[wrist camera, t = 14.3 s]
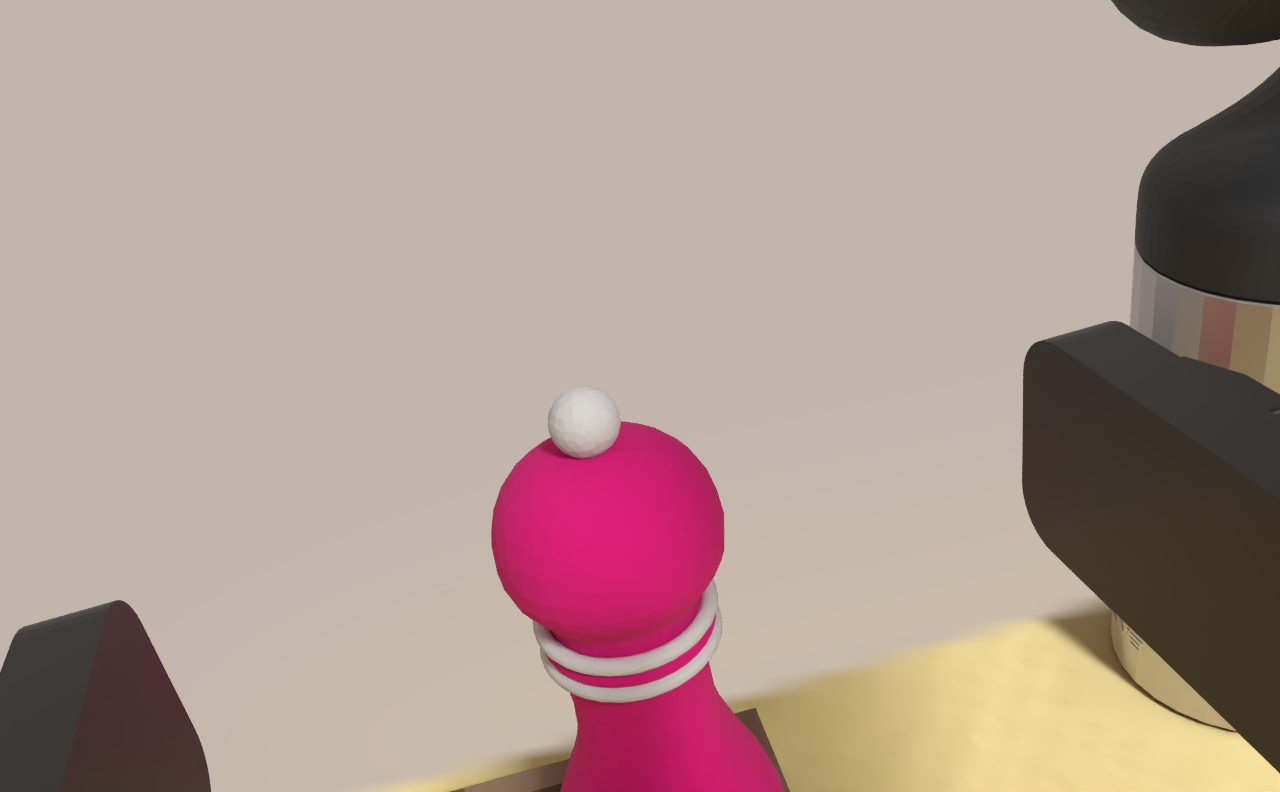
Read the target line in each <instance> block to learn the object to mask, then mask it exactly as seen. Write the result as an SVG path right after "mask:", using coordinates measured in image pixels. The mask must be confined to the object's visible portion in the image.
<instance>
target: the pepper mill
mask: <svg viewBox="0 0 1280 792" xmlns="http://www.w3.org/2000/svg"><path fill="white" fill-rule="evenodd" d="M548 429H549V433H550V435H551V438H549V439H547V440H545V441H543V442H542V443H541V444H539V445H538V446H536V447H535V448H534V449H532V450H531V451H530V452H528V453H527V454H526V455H525V456H524V457H523V458H522V459H521V460H520V461H519V462H518V463H517V464H516V465H515V466H514V468H513V470H512V471H511V473H510V474H509V476H508V477H507V479H506V480H505V482H504V484H503V485H502V487H501V489H500V492H499V495H498V498H497V501H496V504H495V507H494V511H493V520H492V531H491V532H492V534H491V535H492V550H493V554H494V559H495V563H496V568H497V573H498V575H499V577H500V580H501V582H502V585H503V587H504V590H505V591H506V592H507V594H508V595H509V596H510V598H511V599H512V600H513V601H514V603H515V604H516V605H517V607H518V608H519V609H520V610H521V612H522V613H524V614H525V615H527V616H528V617H529V618H531V619H532V620H533V629H534V633H535V636H536V639H537V642H538V644H539V645H540V650H541V659H542V661H543V664H544V666H545V669H546V671H547V672H548V674H549V675H550V677H551V678H552V679H553V680H554V681H555V682H556V683H557V684H558V685H560V686H561V687H562V688H564V689H565V690H566V691H568V692H570V694H571V696H572V699H573V702H574V706H575V711H576V717H577V722H578V730H577V737H576V741H575V745H574V748H573V751H572V754H571V758H570V761H569V764H568V767H567V770H566V773H565V777H564V780H563V783H562V787H561V790H560V792H784V789H783V786H782V783H781V780H780V777H779V774H778V773H777V771H776V769H775V767H774V766H773V764H772V762H771V760H770V759H769V757H768V755H767V754H766V752H765V750H764V749H763V747H762V745H761V743H760V742H759V741H758V740H757V739H756V737H755V736H754V735H753V734H752V732H751V731H750V730H749V729H748V728H747V727H746V726H745V725H744V724H743V723H742V722H741V721H740V720H739V719H738V718H737V716H736V715H735V714H734V713H733V712H732V711H731V709H730V708H729V707H728V706H727V704H726V703H725V702H724V700H723V699H722V698H721V696H720V695H719V694H718V692H717V690H716V688H715V686H714V682H713V678H712V674H711V670H710V666H709V660H710V659H711V657H712V655H713V654H714V652H715V651H716V649H717V646H718V644H719V641H720V637H721V633H722V619H721V613H720V610H719V607H718V605H717V603H718V595H717V589H716V585H715V583H714V580H713V578H714V576H715V573H716V571H717V568H718V566H719V564H720V562H721V559H722V555H723V552H724V512H723V509H722V506H721V502H720V499H719V496H718V493H717V489H716V487H715V485H714V483H713V481H712V479H711V477H710V475H709V473H708V471H707V469H706V468H705V467H704V465H703V464H702V463H701V462H700V461H699V459H698V458H697V457H696V456H695V455H694V454H693V453H692V452H691V450H690V449H689V448H688V447H687V446H685V445H684V444H683V443H681V442H680V441H679V440H677V439H676V438H674V437H672V436H670V435H668V434H666V433H664V432H662V431H660V430H658V429H656V428H653V427H650V426H646V425H642V424H637V423H630V422H621V420H620V414H619V410H618V408H617V406H616V404H615V402H614V401H613V400H612V398H611V397H609V395H608V394H607V393H605V392H603V391H602V390H600V389H598V388H594V387H590V386H579V387H574V388H571V389H569V390H567V391H565V392H564V393H562V394H561V395H560V396H559V397H558V398H557V399H556V400H555V402H554V403H553V405H552V407H551V409H550V411H549V415H548Z"/></svg>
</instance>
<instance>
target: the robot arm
mask: <svg viewBox="0 0 1280 792" xmlns="http://www.w3.org/2000/svg"><path fill="white" fill-rule="evenodd" d="M1111 1H1112V2H1113V3H1114V4H1115V6H1116V7H1117V9H1118V10H1119V11H1120V12H1121V13H1122V14H1123V15H1125V16H1126V17H1127V18H1128V19H1129V20H1131V21H1132V22H1133V23H1134V24H1135V25H1137V26H1138V27H1139V28H1141V29H1143V30H1145V31H1147V32H1149V33H1151V34H1153V35H1155V36H1158V37H1159V38H1162V39H1164V40H1169V41H1174V42H1179V43H1183V44H1189V45H1196V46H1230V45H1231V46H1232V45H1248V44H1256V43H1263V42H1269V41H1273V40H1279V39H1280V0H1111ZM1022 485H1023V494H1024V499H1025V504H1026V507H1027V510H1028V513H1029V516H1030V519H1031V521H1032V523H1033V525H1034V527H1035V529H1036V531H1037V533H1038V534H1039V536H1040V537H1041V539H1042V540H1043V542H1044V543H1045V545H1046V546H1047V547H1048V548H1049V549H1050V550H1051V551H1052V552H1053V553H1054V554H1055V555H1056V556H1057V557H1058V558H1059V559H1060V560H1061V561H1062V562H1063V563H1064V564H1065V565H1066V566H1067V567H1068V568H1069V569H1070V570H1072V572H1073V573H1074V574H1075V575H1076V576H1077V577H1079V579H1080V580H1082V581H1083V582H1084V583H1085V584H1086V585H1087V586H1088V587H1089V588H1090V589H1091V590H1092V591H1093V592H1094V593H1095V594H1096V595H1097V596H1098V597H1099V598H1100V599H1101V600H1102V601H1103V602H1104V603H1105V604H1106V605H1107V606H1108V607H1109V608H1110V609H1111V610H1112V620H1111V636H1112V642H1113V648H1114V650H1115V652H1116V654H1117V657H1118V659H1119V661H1120V663H1121V665H1122V666H1123V667H1124V669H1125V670H1126V671H1127V672H1128V673H1129V675H1130V676H1131V677H1132V678H1133V680H1134V681H1135V682H1136V683H1137V684H1139V685H1140V686H1141V687H1142V688H1143V689H1145V690H1146V691H1147V692H1148V693H1149V694H1151V695H1152V696H1153V697H1154V698H1156V699H1157V700H1159V701H1161V702H1163V703H1164V704H1166V705H1168V706H1169V707H1171V708H1173V709H1174V710H1176V711H1178V712H1180V713H1182V714H1185V715H1187V716H1190V717H1192V718H1194V719H1197V720H1199V721H1202V722H1204V723H1207V724H1211V725H1215V726H1218V727H1222V728H1226V729H1230V730H1233V731H1237V732H1238V733H1239V734H1240V735H1241V736H1242V737H1243V738H1244V739H1245V740H1246V741H1247V742H1248V743H1249V744H1250V745H1251V746H1252V747H1253V748H1254V749H1255V750H1256V751H1257V752H1258V753H1260V754H1261V755H1262V756H1263V757H1264V758H1265V759H1266V760H1267V761H1268V762H1269V763H1270V764H1271V765H1272V766H1273V767H1274V768H1275V769H1276V770H1277V771H1278V772H1279V773H1280V67H1279V68H1278V69H1277V70H1276V71H1275V72H1274V73H1273V74H1272V75H1271V76H1270V77H1268V78H1267V79H1266V80H1265V81H1264V82H1263V83H1262V84H1260V85H1259V86H1258V87H1257V88H1255V89H1254V90H1253V91H1252V92H1250V93H1249V94H1248V95H1246V96H1245V97H1243V98H1242V99H1240V100H1239V101H1238V102H1236V103H1235V104H1233V105H1232V106H1230V107H1228V108H1227V109H1225V110H1224V111H1222V112H1220V113H1219V114H1217V115H1215V116H1213V117H1211V118H1210V119H1208V120H1206V121H1204V122H1203V123H1201V124H1199V125H1198V126H1196V127H1194V128H1192V129H1190V130H1189V131H1187V132H1185V133H1183V134H1181V135H1180V136H1178V137H1177V138H1175V139H1174V140H1172V141H1171V142H1169V143H1168V144H1167V145H1166V146H1164V147H1163V148H1162V149H1161V150H1160V151H1159V152H1158V153H1157V154H1156V155H1155V156H1154V157H1153V158H1152V160H1151V161H1150V162H1149V164H1148V166H1147V167H1146V169H1145V171H1144V173H1143V176H1142V179H1141V182H1140V186H1139V193H1138V200H1137V213H1136V229H1135V249H1134V265H1133V281H1132V297H1131V314H1130V326H1128V325H1126V324H1124V323H1122V322H1118V321H1109V322H1105V323H1102V324H1098V325H1095V326H1091V327H1088V328H1084V329H1081V330H1077V331H1073V332H1070V333H1067V334H1063V335H1059V336H1056V337H1052V338H1049V339H1045V340H1042V341H1039V342H1036V343H1034V344H1033V345H1032V346H1031V347H1030V349H1029V350H1028V352H1027V354H1026V357H1025V362H1024V371H1023V463H1022ZM0 792H211V787H210V779H209V773H208V768H207V763H206V759H205V755H204V752H203V748H202V745H201V742H200V740H199V737H198V735H197V733H196V731H195V728H194V726H193V724H192V722H191V720H190V719H189V716H188V714H187V712H186V711H185V708H184V707H183V705H182V702H181V701H180V699H179V697H178V695H177V693H176V691H175V689H174V687H173V685H172V683H171V681H170V679H169V677H168V675H167V673H166V671H165V669H164V667H163V665H162V663H161V661H160V659H159V657H158V655H157V653H156V651H155V649H154V647H153V645H152V643H151V641H150V639H149V637H148V635H147V633H146V631H145V629H144V627H143V625H142V623H141V621H140V619H139V618H138V616H137V614H136V613H135V612H134V610H133V609H132V608H131V607H130V606H129V605H128V604H127V603H125V602H124V601H121V600H117V601H113V602H109V603H106V604H103V605H99V606H95V607H92V608H88V609H85V610H81V611H78V612H75V613H71V614H67V615H64V616H60V617H57V618H53V619H50V620H46V621H42V622H39V623H36V624H32V625H29V626H25V627H23V628H21V629H19V631H18V632H17V633H16V634H15V636H14V638H13V640H12V643H11V645H10V648H9V651H8V653H7V657H6V659H5V661H4V664H3V667H2V669H1V672H0Z"/></svg>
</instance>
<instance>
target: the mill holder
mask: <svg viewBox="0 0 1280 792" xmlns="http://www.w3.org/2000/svg"><path fill="white" fill-rule="evenodd" d="M735 715H736V716H737V718H738V719H739V720H740V721H741V722H742V723H743V724H744V725H745V726H746V727H747V728H748V729H749V730H750V731H751V732H752V734H753V735H754V736H755V737H756V739H757V740H758V741H759V742H760V743H761V745H762V747H763V749H764V750H765V752H766V754H767V755H768V757H769V759H770V760H771V762H772V764H773V766H774V767H775V769H776V771H777V773H778V774H779V777H780V780H781V783H782V786H783V789H784V792H790V791H789V788H788V786H787V783H786V781H785V779H784V776H783V774H782V771H781V769H780V767H779V764H778V762H777V759H776V757H775V754H774V752H773V750H772V747H771V745H770V742H769V740H768V738H767V735H766V733H765V730H764V728H763V725H762V723H761V721H760V718H759V716H758V713H757V711H756V708H754V709H750V710H746V711H743V712H739V713H735ZM569 761H570V759H568V760H564V761H561V762H557V763H553V764H550V765H546V766H543V767H539V768H535V769H532V770H528V771H524V772H521V773H517V774H513V775H510V776H506V777H503V778H499V779H495V780H492V781H488V782H484V783H481V784H477V785H473V786H470V787H466V788H462V789H459V790H455V791H452V792H560V790H561V787H562V783H563V780H564V777H565V773H566V770H567V767H568V764H569Z"/></svg>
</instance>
